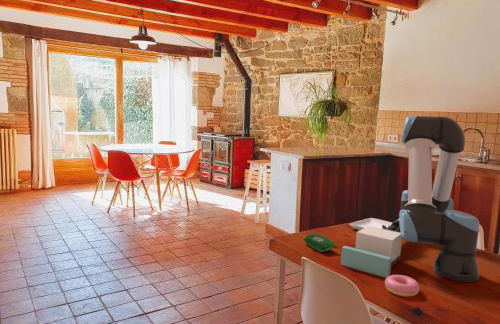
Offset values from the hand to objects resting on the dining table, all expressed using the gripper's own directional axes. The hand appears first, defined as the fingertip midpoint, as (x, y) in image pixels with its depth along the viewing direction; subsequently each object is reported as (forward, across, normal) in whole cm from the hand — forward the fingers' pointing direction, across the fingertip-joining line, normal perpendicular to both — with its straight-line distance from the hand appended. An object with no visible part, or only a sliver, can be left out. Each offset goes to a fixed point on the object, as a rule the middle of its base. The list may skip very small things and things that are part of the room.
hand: (383, 239), depth 160 cm
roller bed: (+8, 0, -7) cm, 11 cm away
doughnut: (+27, -16, -8) cm, 33 cm away
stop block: (+20, 0, -7) cm, 21 cm away
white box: (+6, 0, -5) cm, 8 cm away
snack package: (+10, +24, -8) cm, 27 cm away
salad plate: (-35, +15, -8) cm, 38 cm away
